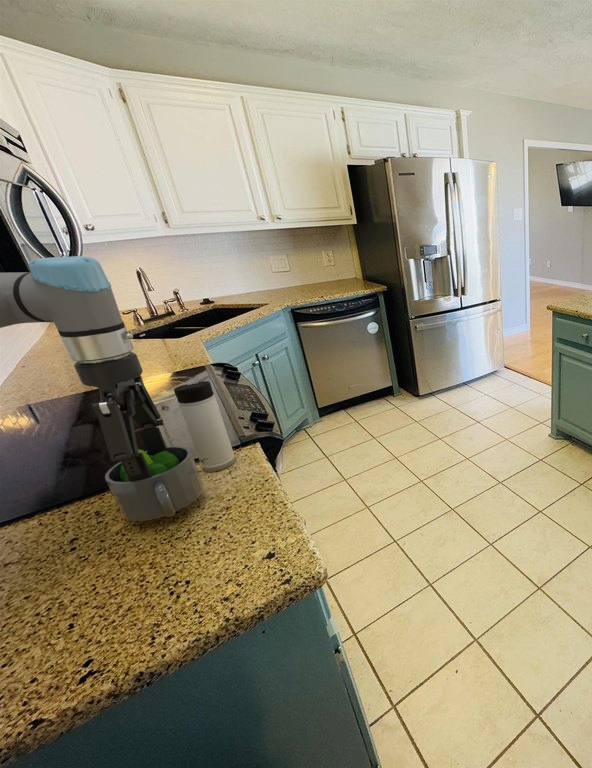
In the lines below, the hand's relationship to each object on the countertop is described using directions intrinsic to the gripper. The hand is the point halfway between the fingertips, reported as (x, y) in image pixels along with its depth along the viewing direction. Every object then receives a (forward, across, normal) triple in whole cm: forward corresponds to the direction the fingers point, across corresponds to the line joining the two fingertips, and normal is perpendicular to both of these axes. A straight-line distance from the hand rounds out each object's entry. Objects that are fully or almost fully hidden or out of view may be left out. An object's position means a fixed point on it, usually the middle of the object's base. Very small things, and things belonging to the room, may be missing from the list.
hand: (153, 472), depth 74 cm
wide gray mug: (+6, -2, -1) cm, 6 cm away
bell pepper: (+6, 0, 0) cm, 6 cm away
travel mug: (+9, +14, -6) cm, 18 cm away
